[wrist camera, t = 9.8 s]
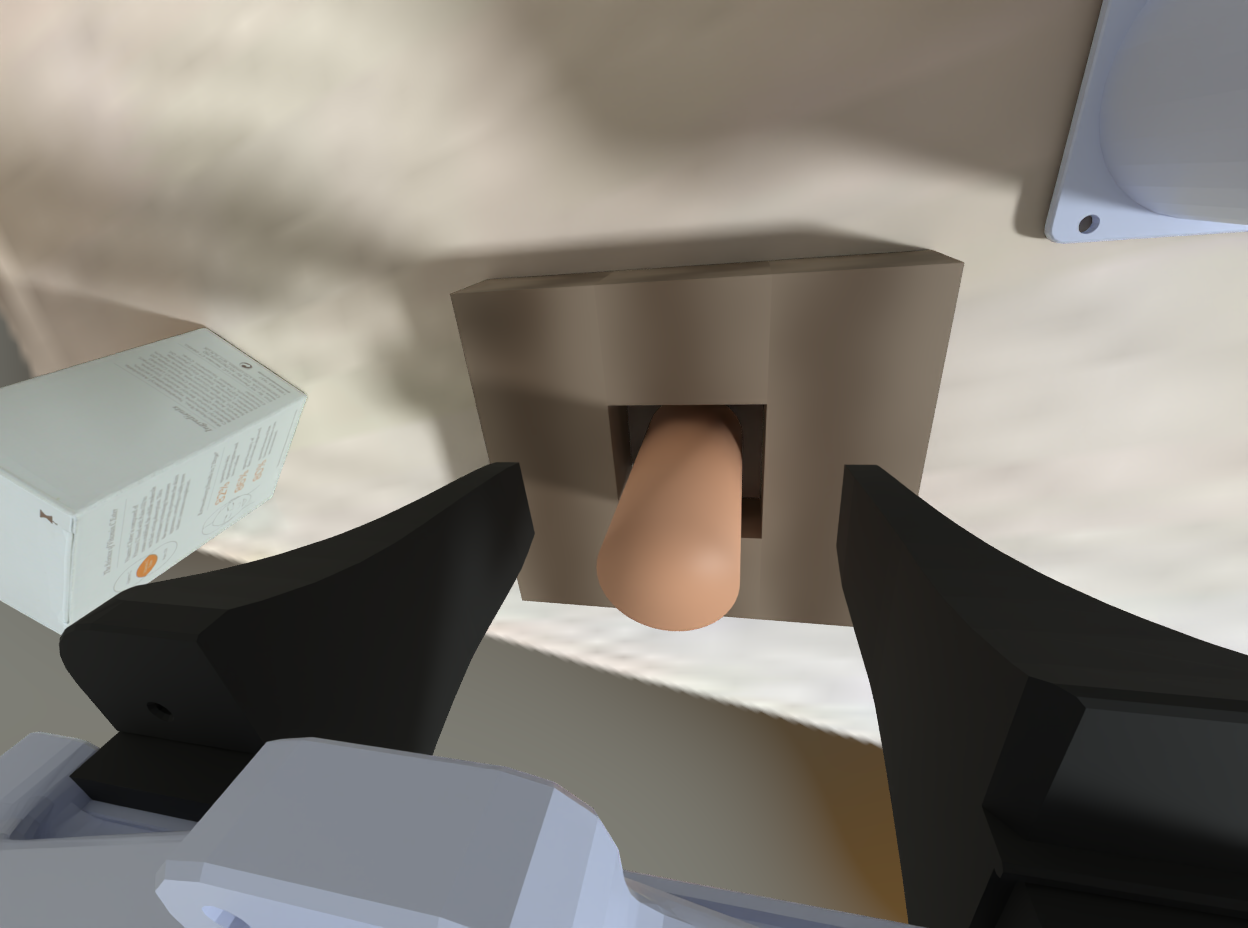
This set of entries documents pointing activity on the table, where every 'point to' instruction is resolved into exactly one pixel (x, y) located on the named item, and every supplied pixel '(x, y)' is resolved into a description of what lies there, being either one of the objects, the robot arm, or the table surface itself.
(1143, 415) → the table surface
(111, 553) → the small box
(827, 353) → the socket block
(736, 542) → the peg
